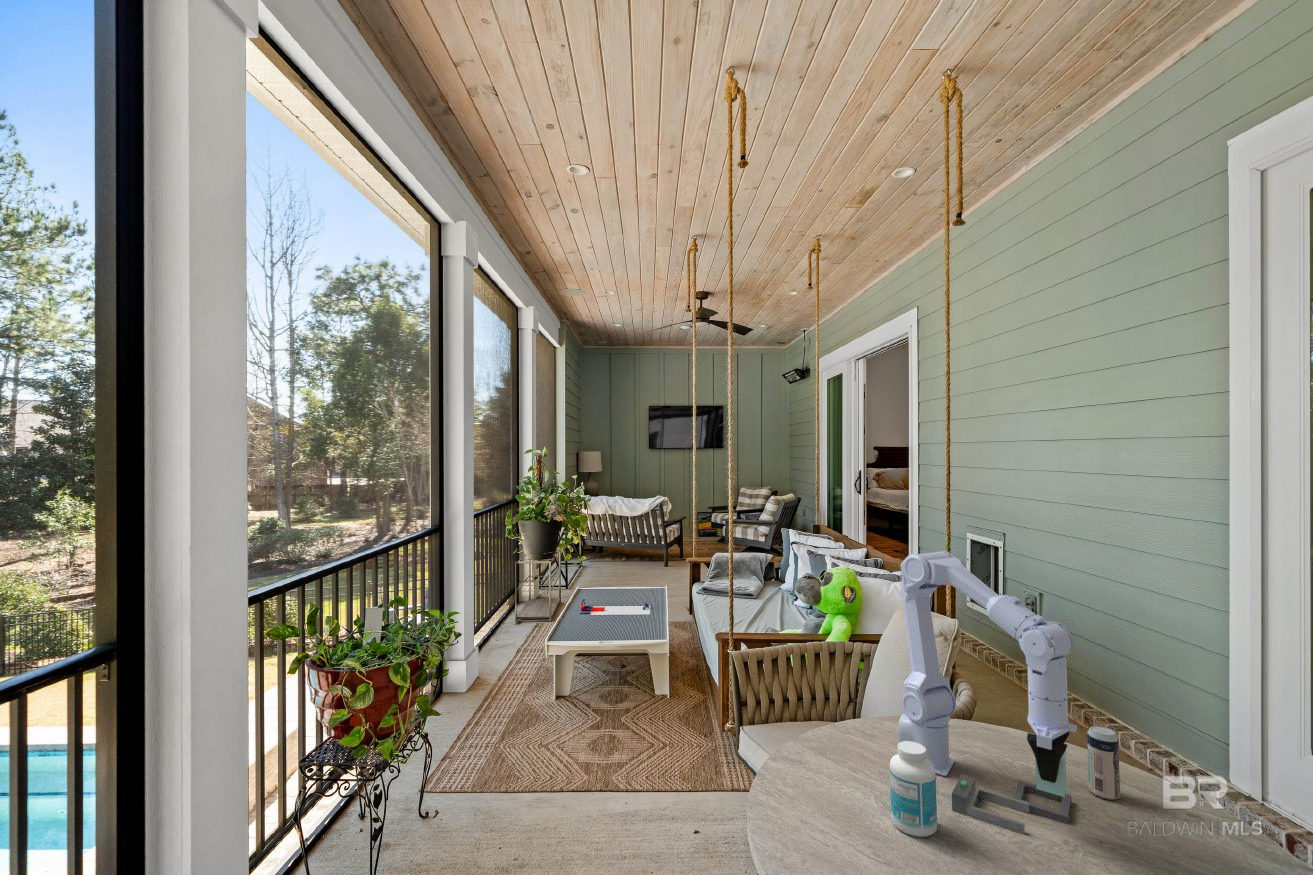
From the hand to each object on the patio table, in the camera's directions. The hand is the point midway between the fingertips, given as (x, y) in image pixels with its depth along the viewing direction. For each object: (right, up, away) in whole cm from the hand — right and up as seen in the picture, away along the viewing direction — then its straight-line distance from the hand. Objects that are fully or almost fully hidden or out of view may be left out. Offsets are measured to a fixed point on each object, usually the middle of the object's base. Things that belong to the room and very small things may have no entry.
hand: (1049, 774), depth 102 cm
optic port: (-7, -10, +5) cm, 13 cm away
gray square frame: (+3, -10, +7) cm, 13 cm away
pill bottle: (-23, -10, +1) cm, 25 cm away
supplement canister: (+17, -10, +10) cm, 22 cm away
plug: (0, -2, 0) cm, 2 cm away
